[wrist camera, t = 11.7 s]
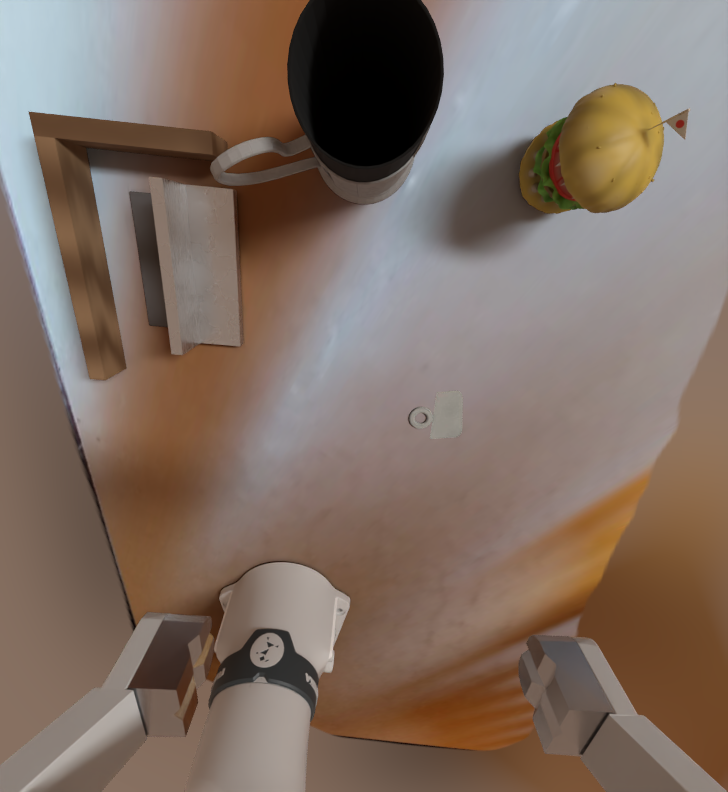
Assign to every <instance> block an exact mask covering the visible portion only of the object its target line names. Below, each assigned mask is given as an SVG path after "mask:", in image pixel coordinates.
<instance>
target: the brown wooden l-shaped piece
mask: <svg viewBox="0 0 728 792" xmlns="http://www.w3.org/2000/svg"><path fill="white" fill-rule="evenodd" d="M29 115H30V120H31V124H32V128H33V133H34V137H35V142H36V146H37V150H38V155H39V159H40V163H41V168H42V172H43V176H44V181H45V185H46V190H47V194H48V198H49V203H50V207H51V211H52V216H53V220H54V224H55V229H56V233H57V238H58V242H59V246H60V251H61V255H62V259H63V264H64V268H65V272H66V277H67V281H68V286H69V290H70V294H71V299H72V303H73V307H74V312H75V316H76V320H77V325H78V329H79V334H80V338H81V342H82V347H83V351H84V355H85V360H86V364H87V368H88V373H89V377H90V379H98V380H107V379H108V378H110V377H112V376H114V375H115V374H117V373H119V372H121V371H122V370H124V369H126V363H125V358H124V352H123V347H122V341H121V336H120V330H119V325H118V319H117V314H116V308H115V303H114V297H113V292H112V287H111V281H110V276H109V270H108V265H107V259H106V254H105V248H104V243H103V237H102V232H101V227H100V221H99V216H98V210H97V205H96V199H95V194H94V188H93V183H92V177H91V172H90V167H89V161H88V156H87V150H86V148H93V149H103V150H112V151H122V152H131V153H141V154H150V155H160V156H169V157H179V158H188V159H198V160H207V161H214V160H215V159H216V158H217V157H218V156H219V155H221V154H222V153H224V152H225V151H227V142H226V141H225V140H223V139H222V138H220V137H219V136H217V135H216V134H214V133H213V132H211V131H202V130H193V129H183V128H174V127H165V126H156V125H146V124H137V123H128V122H119V121H110V120H100V119H91V118H82V117H73V116H63V115H54V114H45V113H36V112H29ZM129 192H130V198H131V205H132V212H133V218H134V225H135V232H136V239H137V245H138V252H139V259H140V265H141V272H142V279H143V286H144V292H145V299H146V306H147V313H148V319H149V325H151V326H162V327H168V323H167V315H166V307H165V299H164V292H163V284H162V276H161V268H160V261H159V253H158V245H157V237H156V229H155V222H154V214H153V206H152V198H151V193H141V192H131V191H129Z"/></svg>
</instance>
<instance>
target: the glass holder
mask: <svg viewBox="0 0 728 792" xmlns="http://www.w3.org/2000/svg"><path fill="white" fill-rule="evenodd" d="M287 70H288V86H289V92H290V98H291V102H292V105H293V108H294V111H295V115H296V117H297V119H298V121H299V123H300V125H301V127H302V129H303V131H304V133H305V135H304V136H302V137H300V138H298V139H295V140H293V141H291V142H288V143H282V142H280V141H279V140H278V139H276V138H272V137H263V138H256V139H252V140H249V141H245V142H243V143H240V144H238V145H236V146H234V147H232V148H230V149H228V150H227V151H225V152H224V153H222V154H221V155H219V156H218V157H217V158H216V159H215V160H214V161H213V162H212V163H211V167H210V170H211V173H212V175H213V177H214V179H215V180H216V181H218V182H219V183H220V184H225V185H229V186H242V185H252V184H258V183H263V182H267V181H271V180H275V179H278V178H282V177H286V176H289V175H292V174H296V173H299V172H302V171H306V170H309V169H313V168H317V167H318V170H319V172H320V174H321V176H322V178H323V179H324V181H325V182H326V184H327V185H328V186H329V188H330V189H331V190H332V191H333V192H334V193H336V194H337V195H338V196H340V197H341V198H343V199H345V200H347V201H349V202H353V203H357V204H372V203H377V202H379V201H382V200H384V199H386V198H388V197H390V196H391V195H392V194H393V193H395V192H396V191H397V190H398V189H399V188H400V187H401V185H402V184H403V183H404V181H405V180H406V178H407V176H408V175H409V173H410V170H411V168H412V165H413V161H414V157H415V155H416V154H417V152H418V150H419V149H420V147H421V145H422V144H423V142H424V140H425V137H426V135H427V133H428V131H429V128H430V125H431V123H432V121H433V119H434V116H435V114H436V111H437V109H438V105H439V101H440V97H441V93H442V86H443V77H444V68H443V53H442V48H441V42H440V38H439V35H438V32H437V29H436V26H435V23H434V21H433V19H432V17H431V15H430V13H429V11H428V9H427V8H426V6H425V5H424V4H423V2H422V1H421V0H310V1H309V2H308V4H307V5H306V7H305V8H304V10H303V11H302V13H301V15H300V17H299V19H298V22H297V24H296V26H295V29H294V31H293V35H292V39H291V43H290V47H289V55H288V63H287ZM308 148H311V150H312V152H313V153H314V155H315V157H313V158H309V159H305V160H301V161H297V162H294V163H290V164H287V165H283V166H279V167H275V168H272V169H268V170H263V171H259V172H252V173H242V174H233V173H225V172H224V171H225V170H227V169H228V168H230V167H231V166H233V165H235V164H236V163H238V162H240V161H242V160H244V159H247V158H249V157H252V156H255V155H258V154H261V153H267V152H276V153H278V154H280V155H282V156H293V155H295V154H298V153H300V152H302V151H304V150H306V149H308Z"/></svg>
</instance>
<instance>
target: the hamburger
mask: <svg viewBox="0 0 728 792" xmlns="http://www.w3.org/2000/svg"><path fill="white" fill-rule="evenodd" d="M689 111H690V108H689V109H687V110H685V111H683V112H681V113H679V114H677V115H675V116H673V117H671V118H670V119H668V120H666V121H664V122H662V120H661V117H660V114H659V112H658V109H657V107H656V106H655V103H653V101H652V100H651V99H650V98H649V96H648V95H646V94H645V93H644V92H642V91H641V90H639V89H637V88H635V87H633V86H629V85H623V84H616V83H615V84H614V85H609V86H605V87H602V88H599V89H596V90H594V91H593V92H591V93H590V94H588V95H586V96H584V97H582V98H581V99H580V100H579V101H578V102H577V103H576V104H575V106H574V107H573V109H572V111H571V112H570V114H569V115H568V117H565V118H563V119H561V120H559V121H556V122H555V123H553V124H552V125H549V126H547V127H545V128H544V129H543V130H542V131H541V133H540V134H539V135H538V136H536V137H535V138H534V140H533V142H532V143H531V144H530V146H529V147H528V148H527V150H526V153H525V155H524V157H523V159H522V160H521V164H520V172H519V178H520V188H521V192H522V196H523V198H524V199H525V200H527V202H528V204H529V205H531V206H533V207H535V208H536V209H537V210H540V211H542V212H544V213H556V214H558V213H561V212H564V211H569V210H571V209H572V210H575V209H577V208H578V209H587V210H588V211H590V212H592V213H600V212H601V213H606V212H610V211H615V210H618V209H620V208H622V207H624V206H626V205H627V204H629V203H630V202H632V201H633V200H634V199H635V198H637V197H638V196H639V195H640V194H641V193H643V191H644V190H645V189H646V187H647V186H648V185H649V183H650V182H653V181H654V179H652V178H653V177H654V175H655V173H656V171H657V168H658V166H659V163H660V160H661V156H662V151H663V145H664V133H663V130H664V127H663V123H665V122H667V123H668V124H669V125H670V126H671V127H672V128H673V129H674V130H675V131H676V132H677V133H678V134H679V135H680V136H682V137H683V138H684V139H685V137H686V129H687V120H688V112H689Z"/></svg>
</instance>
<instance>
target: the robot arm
mask: <svg viewBox="0 0 728 792" xmlns="http://www.w3.org/2000/svg"><path fill="white" fill-rule="evenodd" d="M219 600H220V603H221V605H222V608H223V610H224V616H223V619H222V623H221V626H220V629H219V632H218V636H217V639H216V642H215V646H214V637H213V636H212V635H211V634H210V630H211V627H212V620H211V616H196V615H180V614H170V613H152V612H147V613H146V614H145V615H144V617H143V618H142V619H141V620H140V621H139V623H138V625H137V627H136V628H135V630H134V632H133V634H132V635H131V637H130V639H129V641H128V642H127V644H126V646H125V647H124V649H123V651H122V653H121V654H120V656H119V658H118V660H117V661H116V663H115V665H114V666H113V668H112V670H111V672H110V674H109V675H108V677H107V679H106V680H105V682H104V684H103V685H102V687H101V688H93V689H92V690H91V691H90V692H88V693H87V694H86V695H85V696H84V697H82V698H81V699H80V700H79V701H78V702H76V703H75V704H74V705H73V706H72V707H70V708H69V709H68V710H67V711H65V712H64V713H63V714H62V715H61V716H59V717H58V718H57V719H56V720H54V721H53V722H52V723H51V724H50V725H49V726H47V727H46V728H45V729H44V730H42V731H41V732H40V733H39V734H37V735H36V736H35V737H34V738H33V739H31V740H30V741H29V742H28V743H27V744H25V745H24V746H23V747H22V748H20V749H19V750H18V751H17V752H16V753H14V754H13V755H12V756H11V757H10V758H8V759H7V760H6V761H5V762H3V763H2V764H1V765H0V792H102V790H103V789H104V788H105V787H106V786H107V785H108V783H109V782H110V781H111V780H112V779H113V778H114V777H115V775H116V774H117V773H118V772H119V771H120V770H121V769H122V767H123V766H124V765H125V764H126V763H127V762H128V761H129V759H130V758H131V757H132V756H133V755H134V754H135V753H136V751H137V750H138V749H139V748H140V747H141V746H142V744H143V743H144V742H145V741H146V739H147V737H148V736H149V737H186V735H187V732H188V729H189V726H190V723H191V721H192V718H193V715H194V712H195V710H196V707H197V704H198V699H197V691H196V690H197V688H199V687H200V686H201V685H202V684H203V683H204V682H205V681H206V678H207V675H208V672H209V669H210V666H211V662H212V658H213V653H214V651H215V652H216V655H217V658H218V660H219V661H220V663H221V665H220V667H219V670H218V673H217V676H216V677H215V679H214V682H213V686H212V689H211V695H210V699H209V709H210V711H209V714H208V717H207V720H206V723H205V726H204V729H203V733H202V736H201V739H200V742H199V745H198V748H197V751H196V754H195V757H194V760H193V764H192V767H191V770H190V773H189V776H188V779H187V782H186V786H185V790H184V792H305V783H306V764H307V763H306V762H307V748H308V737H309V728H310V722H311V721H312V719H313V717H314V713H315V707H316V704H317V699H318V682H319V678H320V676H321V674H322V672H327V673H330V672H332V669H333V663H334V650H333V646H334V644H335V641H336V639H337V636H338V634H339V632H340V629H341V627H342V624H343V622H344V619H345V617H346V614H347V612H348V610H349V607H350V598H349V597H348V596H347V595H345V594H344V593H342V592H340V591H338V590H336V589H335V588H334V587H333V586H332V585H331V584H330V583H329V581H328V580H327V579H326V578H325V577H324V576H322V575H321V574H320V573H318V572H317V571H315V570H313V569H311V568H309V567H306V566H303V565H299V564H295V563H287V562H275V563H268V564H264V565H260V566H258V567H255V568H253V569H252V570H250V571H248V572H247V573H246V574H245V575H244V576H243V577H242V578H241V579H240V580H239V581H238V582H236V583H235V584H232V585H230V586H227V587H225V588H223V589H222V590H221V593H220V596H219ZM526 644H527V646H528V649H529V650H527V651H526V652H524V653H523V654H522V655H521V657H520V660H519V678H520V683H521V687H522V690H523V693H524V696H525V698H526V699H527V700H528V701H529V702H530V703H531V704H532V705H533V706H534V708H535V710H534V714H533V721H534V724H535V727H536V730H537V733H538V735H539V738H540V741H541V744H542V747H543V750H544V752H545V753H546V754H559V755H571V756H582V757H581V758H580V759H581V760H582V761H583V763H584V764H585V765H586V767H587V768H588V769H589V770H590V772H591V773H592V774H593V776H594V777H595V778H596V779H597V780H598V782H599V783H600V785H601V786H602V787H603V788H604V790H605V791H606V792H727V791H726V790H725V789H724V788H722V787H721V786H720V785H719V784H718V783H717V782H716V781H715V780H714V779H713V778H712V777H710V776H709V775H708V774H707V773H706V772H705V771H704V770H703V769H702V768H701V767H700V766H698V765H697V764H696V763H695V762H694V761H693V760H692V759H691V758H690V757H689V756H688V755H686V754H685V753H684V752H683V751H682V750H681V749H680V748H679V747H678V746H677V745H676V744H674V743H673V742H672V741H671V740H670V739H669V738H668V737H667V736H666V735H665V734H663V733H662V732H661V731H660V730H659V729H658V728H657V727H656V726H655V725H654V724H653V723H652V722H650V721H649V720H648V719H647V718H646V717H645V716H643V715H638V714H637V713H636V711H635V709H634V708H633V706H632V704H631V702H630V701H629V699H628V697H627V695H626V694H625V692H624V690H623V688H622V687H621V685H620V683H619V682H618V680H617V678H616V676H615V675H614V673H613V671H612V669H611V668H610V666H609V664H608V663H607V661H606V659H605V657H604V656H603V654H602V652H601V650H600V649H599V647H598V645H597V644H596V643H595V642H594V641H593V640H592V639H590V638H583V637H569V636H547V635H532V636H530V637H529V638H528V641H527V643H526Z"/></svg>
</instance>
